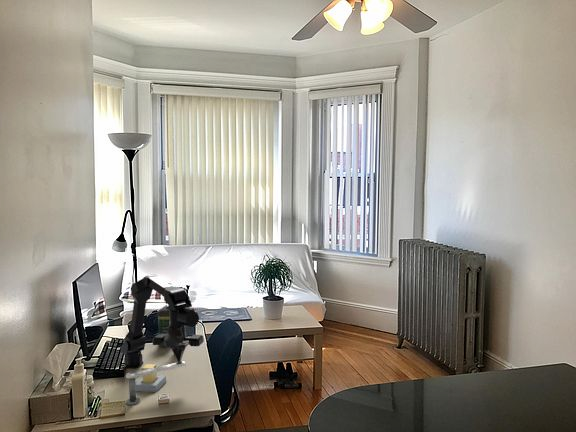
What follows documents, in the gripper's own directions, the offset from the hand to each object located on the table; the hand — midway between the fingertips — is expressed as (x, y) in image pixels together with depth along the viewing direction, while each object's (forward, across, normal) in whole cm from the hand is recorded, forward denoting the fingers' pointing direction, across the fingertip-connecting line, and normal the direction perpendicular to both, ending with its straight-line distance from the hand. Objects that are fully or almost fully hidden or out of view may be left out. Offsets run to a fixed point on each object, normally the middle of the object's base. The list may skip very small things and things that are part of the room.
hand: (179, 361), depth 189 cm
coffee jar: (+10, -26, +48) cm, 55 cm away
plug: (+10, -12, 0) cm, 16 cm away
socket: (+10, -12, 0) cm, 16 cm away
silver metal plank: (+1, -6, -8) cm, 10 cm away
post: (+10, -12, -14) cm, 21 cm away
